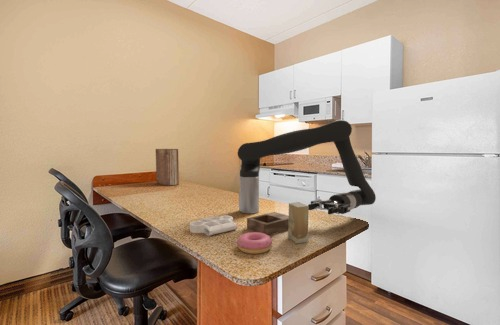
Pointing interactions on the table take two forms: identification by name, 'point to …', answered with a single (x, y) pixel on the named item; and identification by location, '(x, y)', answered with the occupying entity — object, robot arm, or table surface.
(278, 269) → the table surface
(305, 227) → the skincare box
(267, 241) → the doughnut
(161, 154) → the brown wooden block
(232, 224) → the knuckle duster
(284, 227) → the walnut holder
